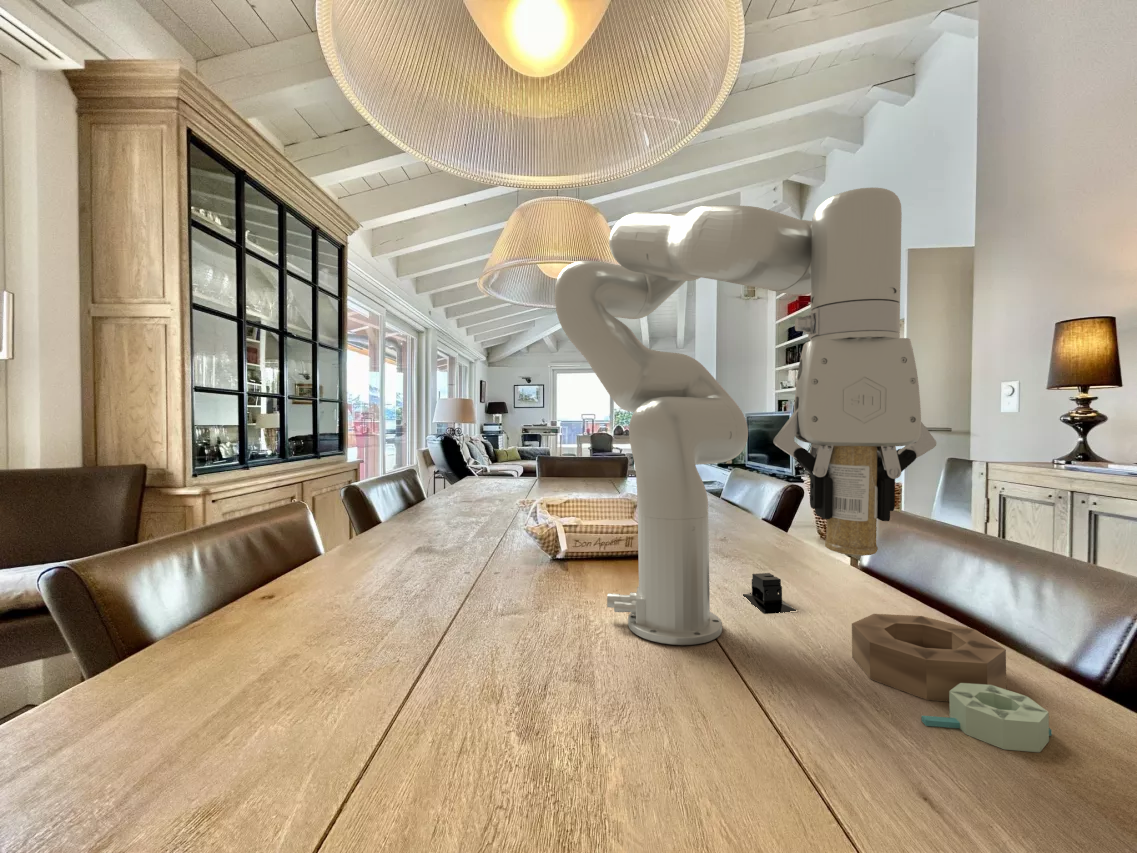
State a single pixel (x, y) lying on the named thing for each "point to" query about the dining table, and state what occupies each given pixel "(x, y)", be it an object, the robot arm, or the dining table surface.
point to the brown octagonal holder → (925, 655)
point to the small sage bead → (1000, 717)
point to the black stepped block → (767, 594)
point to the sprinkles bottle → (853, 500)
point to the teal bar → (946, 722)
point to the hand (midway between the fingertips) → (850, 515)
